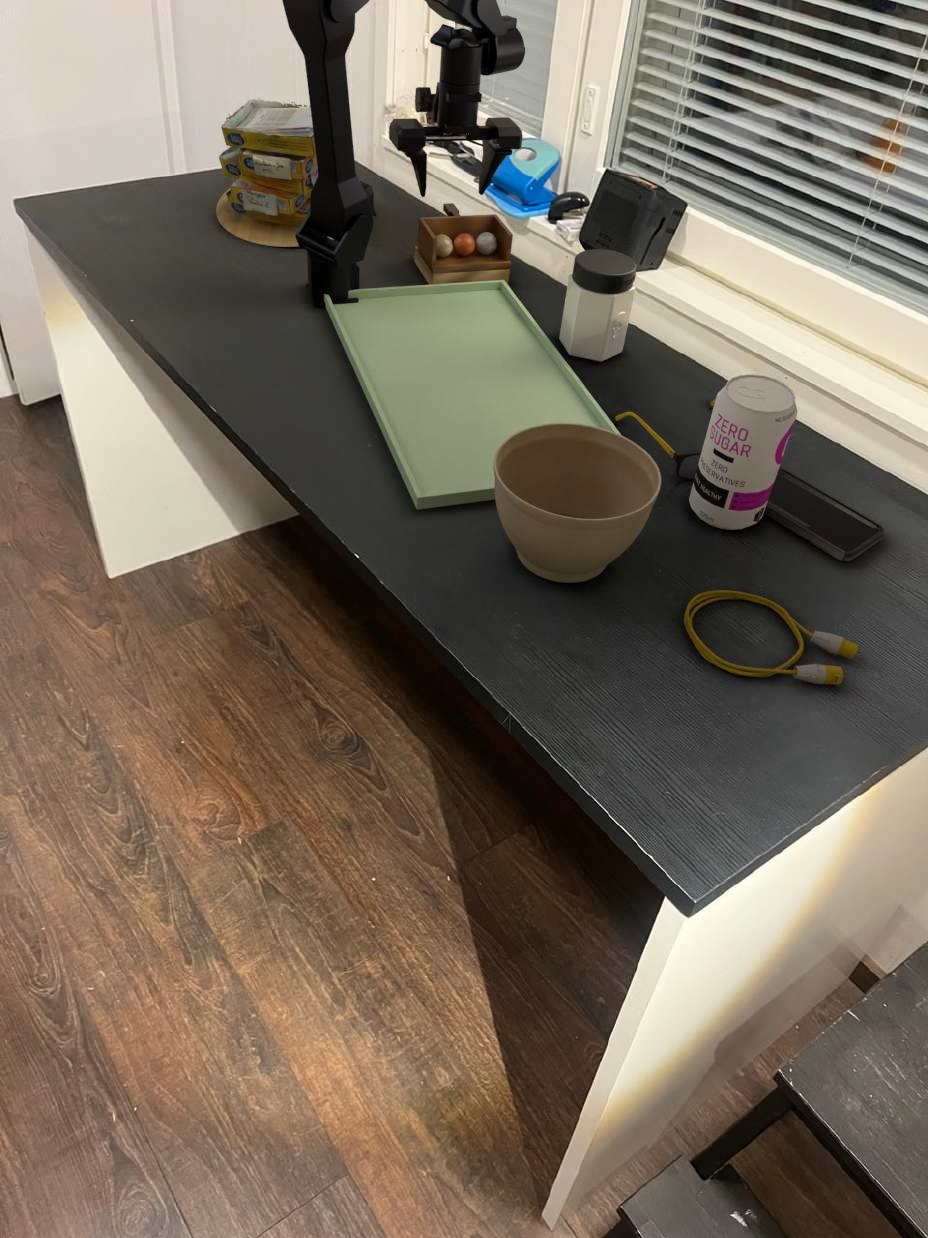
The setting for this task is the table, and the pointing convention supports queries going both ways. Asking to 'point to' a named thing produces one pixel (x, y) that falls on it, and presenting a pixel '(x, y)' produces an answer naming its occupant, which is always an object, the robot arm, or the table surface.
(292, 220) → the stacked yellow boxes
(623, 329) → the jar
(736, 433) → the supplement can
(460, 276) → the stand
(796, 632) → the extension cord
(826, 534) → the phone
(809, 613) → the table surface
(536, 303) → the table surface
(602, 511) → the planter bowl
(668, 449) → the eyeglasses
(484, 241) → the ball
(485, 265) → the wooden ball box
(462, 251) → the ball
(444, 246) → the ball
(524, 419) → the tray
